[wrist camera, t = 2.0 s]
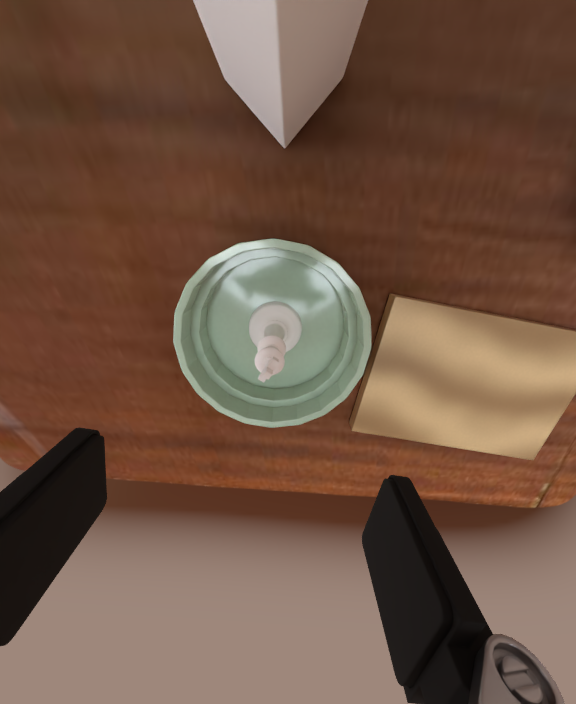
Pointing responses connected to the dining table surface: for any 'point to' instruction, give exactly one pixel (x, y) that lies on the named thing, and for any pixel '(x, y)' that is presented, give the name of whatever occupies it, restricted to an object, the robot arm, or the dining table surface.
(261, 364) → the chess piece
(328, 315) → the bowl
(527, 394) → the board
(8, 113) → the dining table surface
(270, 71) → the milk
